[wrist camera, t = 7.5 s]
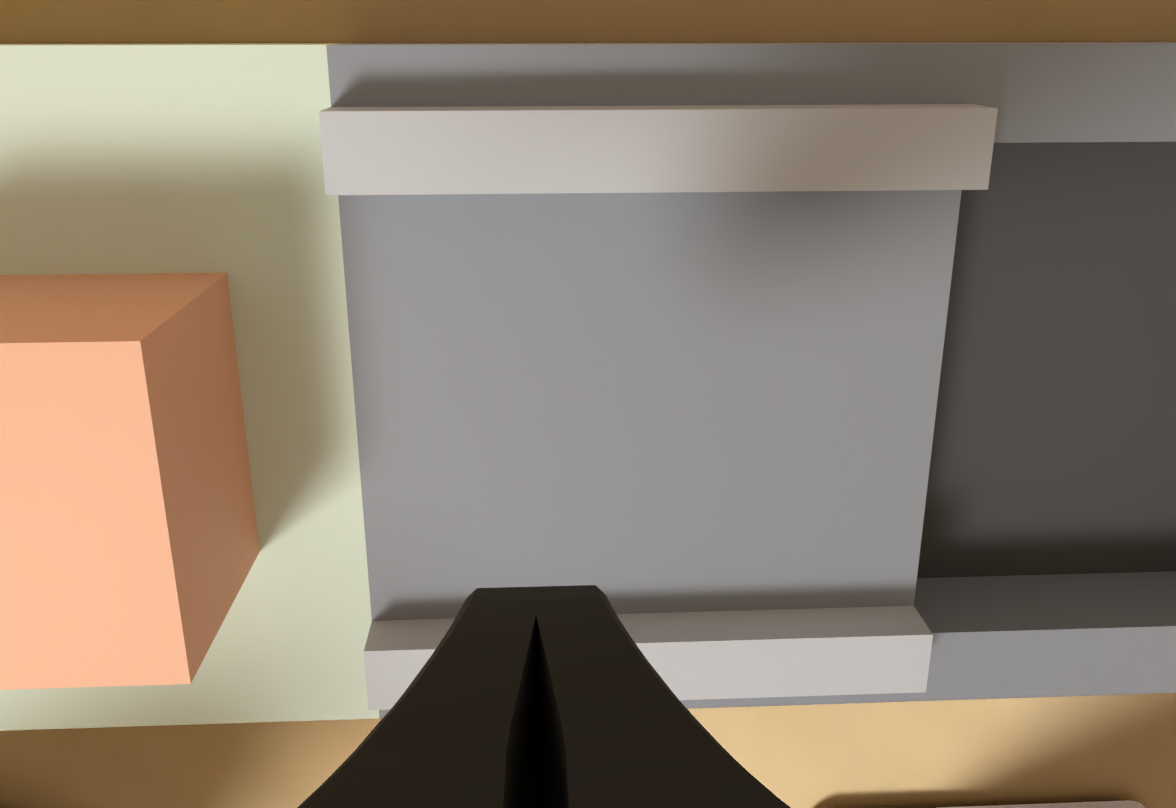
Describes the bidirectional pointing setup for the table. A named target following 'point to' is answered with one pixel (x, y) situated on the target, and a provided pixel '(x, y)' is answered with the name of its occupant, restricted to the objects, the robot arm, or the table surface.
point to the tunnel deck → (653, 351)
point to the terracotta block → (119, 477)
